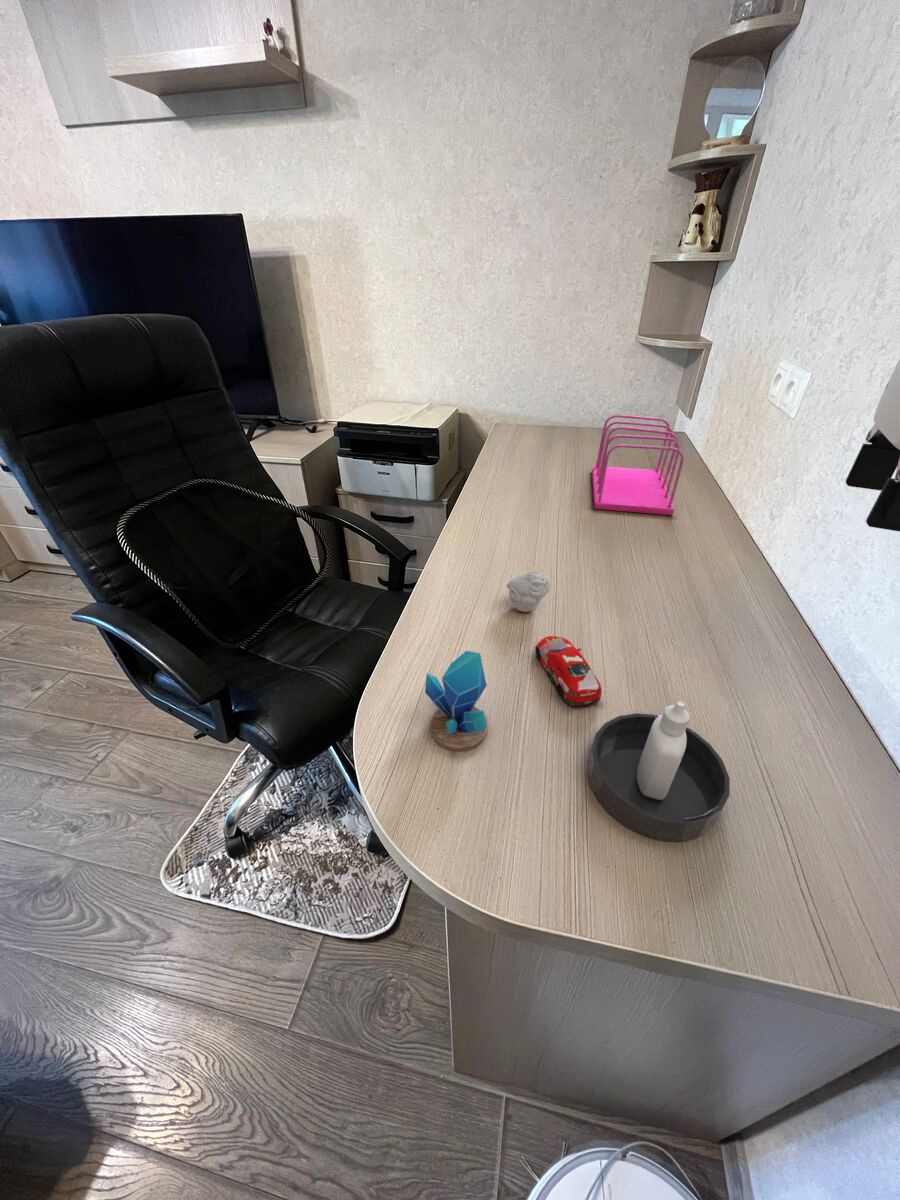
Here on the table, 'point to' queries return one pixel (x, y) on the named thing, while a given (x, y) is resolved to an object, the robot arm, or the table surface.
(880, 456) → the robot arm
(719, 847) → the table surface
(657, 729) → the eye dropper bottle
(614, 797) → the pan
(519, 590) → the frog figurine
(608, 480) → the file sorter
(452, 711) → the gemstone
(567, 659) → the race car
